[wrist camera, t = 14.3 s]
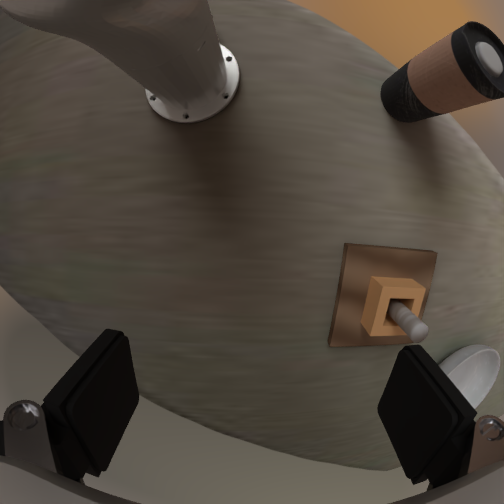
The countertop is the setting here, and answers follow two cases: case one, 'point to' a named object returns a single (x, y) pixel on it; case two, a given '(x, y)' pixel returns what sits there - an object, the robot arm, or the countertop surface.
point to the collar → (378, 302)
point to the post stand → (356, 288)
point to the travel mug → (448, 76)
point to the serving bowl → (473, 371)
